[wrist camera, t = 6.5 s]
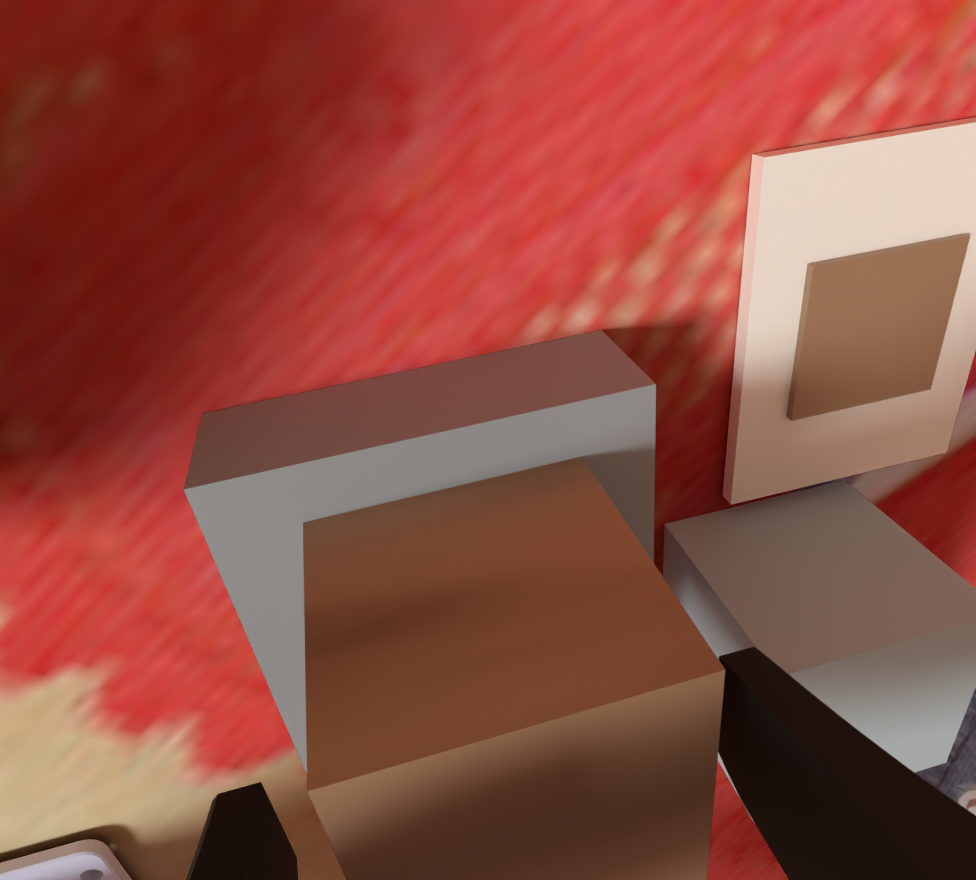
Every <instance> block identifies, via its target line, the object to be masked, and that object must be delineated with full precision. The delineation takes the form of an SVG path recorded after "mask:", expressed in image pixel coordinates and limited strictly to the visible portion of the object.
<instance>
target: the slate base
mask: <svg viewBox="0 0 976 880" xmlns="http://www.w3.org/2000/svg"><path fill="white" fill-rule="evenodd" d="M655 430H656V384H655V383H654V382H653V381H652V380H651V379H650V378H649V377H648V376H647V375H646V374H645V373H644V372H643V371H642V370H641V369H640V368H639V367H638V366H637V365H636V364H635V363H634V362H633V361H632V360H631V359H630V358H629V357H628V356H627V355H626V354H625V353H624V352H623V351H622V350H621V349H620V348H619V347H618V346H617V345H616V344H615V343H614V342H613V341H612V340H611V339H610V338H609V337H608V336H607V335H606V334H605V333H604V332H603V331H602V330H598V331H593V332H589V333H584V334H579V335H574V336H570V337H565V338H560V339H555V340H550V341H546V342H541V343H536V344H531V345H527V346H522V347H517V348H512V349H507V350H503V351H498V352H493V353H488V354H484V355H479V356H474V357H469V358H464V359H460V360H455V361H450V362H445V363H441V364H436V365H431V366H426V367H421V368H417V369H412V370H407V371H402V372H398V373H393V374H388V375H383V376H378V377H374V378H369V379H364V380H359V381H355V382H350V383H345V384H340V385H336V386H331V387H326V388H321V389H316V390H312V391H307V392H302V393H297V394H293V395H288V396H283V397H278V398H273V399H269V400H264V401H259V402H254V403H250V404H245V405H240V406H235V407H230V408H226V409H221V410H216V411H211V412H207V413H202V416H201V420H200V424H199V428H198V432H197V437H196V441H195V445H194V449H193V453H192V457H191V461H190V465H189V470H188V474H187V478H186V482H185V486H184V492H185V494H186V496H187V498H188V501H189V503H190V505H191V508H192V510H193V512H194V515H195V517H196V519H197V522H198V524H199V526H200V529H201V531H202V533H203V535H204V538H205V540H206V542H207V545H208V547H209V549H210V552H211V554H212V556H213V559H214V561H215V563H216V566H217V568H218V570H219V572H220V575H221V577H222V579H223V582H224V584H225V586H226V589H227V591H228V593H229V596H230V598H231V600H232V603H233V605H234V607H235V610H236V612H237V614H238V616H239V619H240V621H241V623H242V626H243V628H244V630H245V633H246V635H247V637H248V640H249V642H250V644H251V647H252V649H253V651H254V653H255V656H256V658H257V660H258V663H259V665H260V667H261V670H262V672H263V674H264V677H265V679H266V681H267V684H268V686H269V688H270V691H271V693H272V695H273V697H274V700H275V702H276V704H277V707H278V709H279V711H280V714H281V716H282V718H283V721H284V723H285V725H286V728H287V730H288V732H289V734H290V737H291V739H292V741H293V744H294V746H295V748H296V751H297V753H298V755H299V758H300V760H301V762H302V765H303V767H304V769H305V772H306V774H307V746H306V684H305V623H304V561H303V522H307V521H312V520H316V519H320V518H324V517H328V516H333V515H337V514H341V513H345V512H349V511H354V510H358V509H362V508H366V507H371V506H375V505H379V504H383V503H387V502H392V501H396V500H400V499H404V498H408V497H413V496H417V495H421V494H425V493H429V492H434V491H438V490H442V489H446V488H451V487H455V486H459V485H463V484H467V483H472V482H476V481H480V480H484V479H488V478H493V477H497V476H501V475H505V474H509V473H514V472H518V471H522V470H526V469H531V468H535V467H539V466H543V465H547V464H552V463H556V462H560V461H564V460H568V459H573V458H577V457H581V456H582V457H583V459H584V460H585V462H586V463H587V465H588V466H589V468H590V469H591V471H592V472H593V474H594V475H595V477H596V478H597V480H598V481H599V483H600V484H601V486H602V487H603V489H604V490H605V492H606V493H607V494H608V496H609V497H610V499H611V500H612V502H613V503H614V505H615V506H616V508H617V509H618V511H619V512H620V514H621V515H622V517H623V518H624V520H625V521H626V523H627V524H628V526H629V527H630V529H631V530H632V532H633V533H634V535H635V536H636V538H637V539H638V541H639V542H640V544H641V545H642V547H643V548H644V550H645V551H646V552H647V554H648V555H649V557H650V558H651V560H652V561H653V563H654V510H655Z"/></svg>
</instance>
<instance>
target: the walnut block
mask: <svg viewBox="0 0 976 880" xmlns="http://www.w3.org/2000/svg"><path fill="white" fill-rule="evenodd" d="M303 561H304V623H305V684H306V746H307V792H308V794H309V797H310V799H311V801H312V803H313V806H314V808H315V810H316V812H317V815H318V817H319V819H320V821H321V824H322V826H323V828H324V830H325V833H326V835H327V837H328V839H329V842H330V844H331V846H332V848H333V850H334V853H335V855H336V857H337V859H338V862H339V864H340V866H341V868H342V871H343V873H344V875H345V877H346V880H707V872H708V861H709V849H710V838H711V827H712V815H713V804H714V793H715V782H716V770H717V759H718V748H719V736H720V725H721V714H722V703H723V691H724V680H725V668H724V667H723V665H722V664H721V662H720V661H719V660H718V658H717V657H716V655H715V654H714V652H713V651H712V649H711V648H710V646H709V645H708V643H707V642H706V640H705V639H704V637H703V636H702V634H701V633H700V631H699V630H698V628H697V627H696V625H695V624H694V622H693V621H692V619H691V618H690V616H689V615H688V613H687V612H686V610H685V609H684V607H683V606H682V605H681V603H680V602H679V600H678V599H677V597H676V596H675V594H674V593H673V591H672V590H671V588H670V587H669V585H668V584H667V582H666V581H665V579H664V578H663V576H662V575H661V573H660V572H659V570H658V569H657V567H656V566H655V564H654V563H653V561H652V560H651V558H650V557H649V555H648V554H647V552H646V551H645V550H644V548H643V547H642V545H641V544H640V542H639V541H638V539H637V538H636V536H635V535H634V533H633V532H632V530H631V529H630V527H629V526H628V524H627V523H626V521H625V520H624V518H623V517H622V515H621V514H620V512H619V511H618V509H617V508H616V506H615V505H614V503H613V502H612V500H611V499H610V497H609V496H608V494H607V493H606V492H605V490H604V489H603V487H602V486H601V484H600V483H599V481H598V480H597V478H596V477H595V475H594V474H593V472H592V471H591V469H590V468H589V466H588V465H587V463H586V462H585V460H584V459H583V457H582V456H581V457H577V458H573V459H568V460H564V461H560V462H556V463H552V464H547V465H543V466H539V467H535V468H531V469H526V470H522V471H518V472H514V473H509V474H505V475H501V476H497V477H493V478H488V479H484V480H480V481H476V482H472V483H467V484H463V485H459V486H455V487H451V488H446V489H442V490H438V491H434V492H429V493H425V494H421V495H417V496H413V497H408V498H404V499H400V500H396V501H392V502H387V503H383V504H379V505H375V506H371V507H366V508H362V509H358V510H354V511H349V512H345V513H341V514H337V515H333V516H328V517H324V518H320V519H316V520H312V521H307V522H303Z"/></svg>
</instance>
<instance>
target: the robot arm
mask: <svg viewBox="0 0 976 880" xmlns="http://www.w3.org/2000/svg"><path fill="white" fill-rule="evenodd" d="M719 661H720V662H721V664H722V665H723V667H724V668H725V680H724V691H723V703H722V714H721V725H720V736H719V748H718V753H719V755H720V757H721V759H722V761H723V764H724V766H725V768H726V770H727V772H728V774H729V776H730V778H731V780H732V783H733V785H734V787H735V789H736V791H737V793H738V795H739V797H740V799H741V801H742V803H743V804H744V806H745V808H746V809H747V811H748V813H749V814H750V816H751V818H752V819H753V821H754V823H755V824H756V826H757V828H758V829H759V831H760V833H761V834H762V836H763V838H764V839H765V841H766V843H767V844H768V846H769V847H770V849H771V851H772V852H773V854H774V856H775V857H776V859H777V861H778V862H779V864H780V865H781V867H782V869H783V870H784V872H785V874H786V875H787V877H788V879H789V880H976V815H974V814H973V813H971V812H970V811H968V810H967V809H965V808H964V807H963V806H961V805H960V804H958V803H957V802H955V801H954V800H953V799H951V798H950V797H948V796H947V795H945V794H944V793H943V792H941V791H940V790H938V789H937V788H935V787H934V786H933V785H931V784H930V783H928V782H927V781H925V780H924V779H923V778H921V777H920V776H919V775H917V774H916V773H914V772H913V771H912V770H910V769H909V768H908V767H906V766H905V765H903V764H902V763H901V762H899V761H898V760H897V759H896V758H894V757H893V756H892V755H890V754H889V753H888V752H886V751H885V750H884V749H882V748H881V747H880V746H878V745H877V744H876V743H874V742H873V741H872V740H870V739H869V738H868V737H866V736H865V735H864V734H863V733H861V732H860V731H859V730H857V729H856V728H855V727H853V726H852V725H851V724H850V723H848V722H847V721H846V720H845V719H843V718H842V717H841V716H839V715H838V714H837V713H836V712H834V711H833V710H832V709H831V708H830V707H828V706H827V705H826V704H825V703H823V702H822V701H821V700H820V699H818V698H817V697H816V696H815V695H813V694H812V693H811V692H810V691H808V690H807V689H806V688H805V687H804V686H802V685H801V684H800V683H799V682H797V681H796V680H795V679H794V678H793V677H791V676H790V675H789V674H788V673H787V672H785V671H784V670H783V669H782V668H781V667H779V666H778V665H777V664H776V663H774V662H773V661H772V660H771V659H770V658H768V657H767V656H766V655H765V654H764V653H762V652H761V651H760V650H759V649H757V648H755V647H751V648H747V649H743V650H740V651H736V652H732V653H729V654H725V655H721V656H719ZM0 880H132V879H131V878H130V876H129V875H128V874H127V872H126V871H125V870H124V868H123V867H122V865H121V864H120V863H119V861H118V860H117V859H116V857H115V856H114V854H113V853H112V852H111V850H110V849H109V848H108V846H107V845H105V844H104V843H103V842H102V841H98V840H93V839H86V840H80V841H77V842H73V843H70V844H66V845H62V846H59V847H55V848H51V849H48V850H44V851H41V852H37V853H33V854H30V855H26V856H23V857H19V858H15V859H12V860H8V861H4V862H1V863H0ZM186 880H298V872H297V857H296V855H295V853H294V851H293V849H292V847H291V845H290V842H289V840H288V838H287V836H286V834H285V832H284V830H283V828H282V825H281V823H280V821H279V819H278V817H277V815H276V813H275V811H274V809H273V806H272V804H271V802H270V800H269V798H268V796H267V794H266V792H265V790H264V787H263V785H262V783H261V782H260V783H256V784H252V785H249V786H245V787H242V788H238V789H234V790H231V791H227V792H223V793H220V794H218V795H217V796H216V797H215V799H214V800H213V801H212V804H211V808H210V811H209V814H208V817H207V820H206V823H205V826H204V829H203V832H202V835H201V838H200V841H199V844H198V847H197V850H196V853H195V856H194V858H193V861H192V864H191V867H190V870H189V872H188V875H187V878H186Z"/></svg>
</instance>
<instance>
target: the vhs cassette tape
mask: <svg viewBox="0 0 976 880" xmlns="http://www.w3.org/2000/svg"><path fill="white" fill-rule="evenodd" d="M915 773H916V774H917V775H919V776H920V777H921V778H923V779H924V780H925V781H927V782H928V783H930V784H931V785H933V786H934V787H935V788H937V789H938V790H940V791H941V792H943V793H944V794H945V795H947V796H948V797H950V798H951V799H953V800H954V801H955V802H957V803H958V804H960V805H961V806H963V807H964V808H965V809H967V810H968V811H970V812H971V813H973V814H974V815H976V688H975V690H974V693H973V695H972V698H971V700H970V703H969V705H968V708H967V710H966V713H965V716H964V718H963V721H962V723H961V726H960V728H959V731H958V733H957V736H956V738H955V741H954V744H953V746H952V749H951V751H950V754H949V756H948V759H947V761H946V763H943V764H940V765H937V766H934V767H931V768H927V769H924V770H921V771H918V772H915Z"/></svg>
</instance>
